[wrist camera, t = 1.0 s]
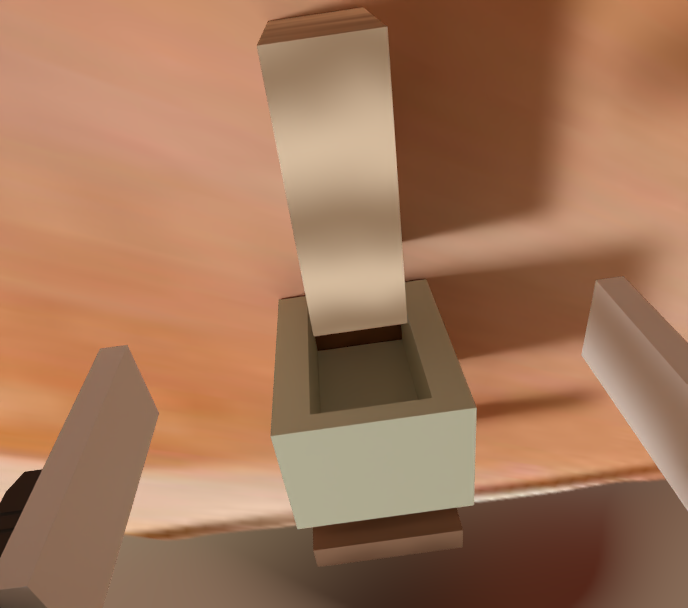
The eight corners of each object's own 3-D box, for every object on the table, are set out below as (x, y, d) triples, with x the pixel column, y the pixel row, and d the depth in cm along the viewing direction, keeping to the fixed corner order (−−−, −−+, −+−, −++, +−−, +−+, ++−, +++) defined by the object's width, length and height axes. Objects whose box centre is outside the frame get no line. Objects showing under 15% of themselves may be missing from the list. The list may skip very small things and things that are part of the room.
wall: (310, 426, 44) (313, 550, 35) (428, 410, 44) (462, 530, 35) (317, 458, 46) (322, 582, 37) (430, 442, 46) (462, 563, 37)
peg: (268, 20, 27) (256, 45, 20) (363, 6, 27) (387, 26, 20) (310, 255, 35) (313, 336, 28) (384, 244, 35) (407, 322, 28)
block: (278, 299, 37) (270, 436, 26) (426, 279, 37) (476, 407, 26) (298, 384, 41) (297, 529, 31) (429, 365, 41) (473, 505, 31)
